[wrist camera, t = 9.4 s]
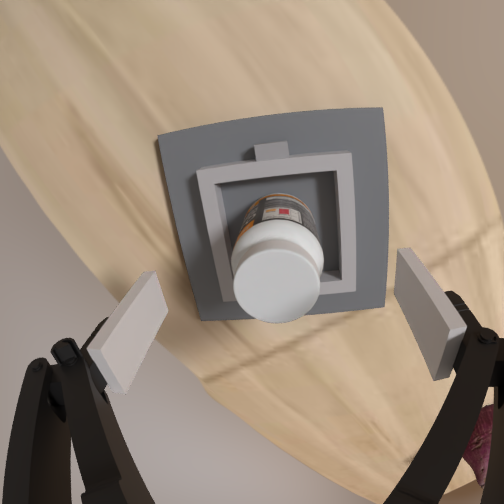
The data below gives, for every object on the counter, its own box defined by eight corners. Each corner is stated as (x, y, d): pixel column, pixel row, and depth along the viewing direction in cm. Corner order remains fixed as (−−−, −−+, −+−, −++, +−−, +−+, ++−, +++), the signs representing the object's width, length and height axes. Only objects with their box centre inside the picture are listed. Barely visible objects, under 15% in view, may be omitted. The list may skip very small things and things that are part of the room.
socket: (161, 134, 24) (148, 137, 21) (379, 107, 21) (390, 106, 19) (203, 315, 31) (196, 332, 29) (382, 301, 28) (389, 318, 26)
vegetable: (454, 429, 42) (454, 497, 31) (448, 415, 38) (448, 495, 27) (502, 412, 37) (507, 482, 25) (503, 395, 33) (510, 477, 21)
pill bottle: (243, 191, 24) (217, 237, 15) (315, 191, 24) (334, 239, 15) (245, 256, 27) (226, 329, 18) (313, 257, 26) (324, 331, 17)
